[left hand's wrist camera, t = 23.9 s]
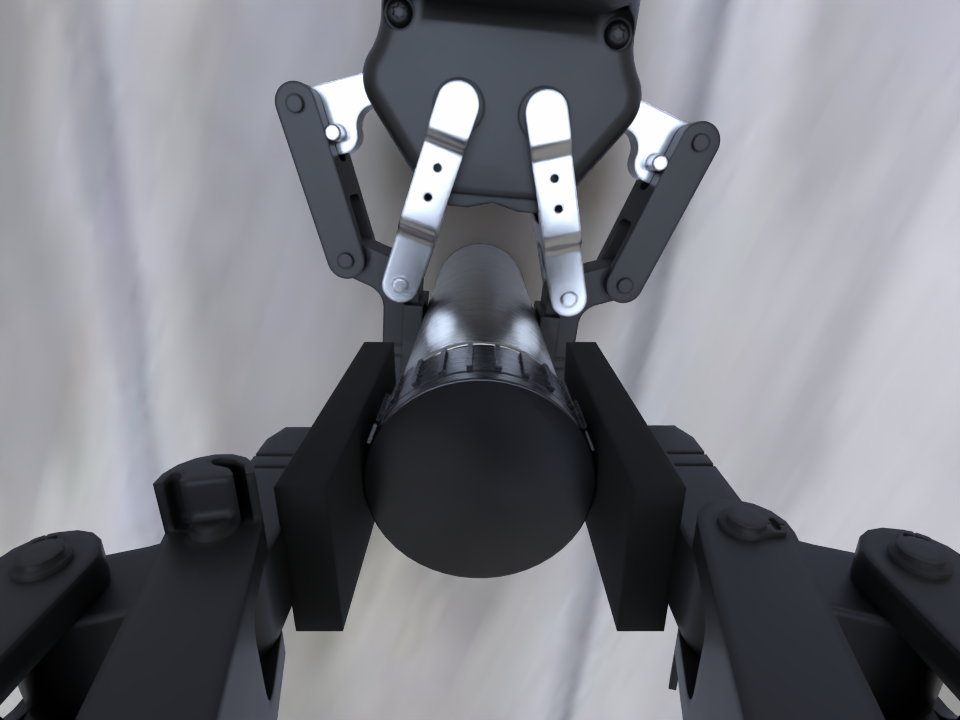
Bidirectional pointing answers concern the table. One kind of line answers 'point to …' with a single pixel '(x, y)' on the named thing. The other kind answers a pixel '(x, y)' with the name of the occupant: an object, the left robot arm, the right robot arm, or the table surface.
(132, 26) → the table surface
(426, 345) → the bottle
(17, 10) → the table surface
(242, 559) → the left robot arm
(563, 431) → the lid
